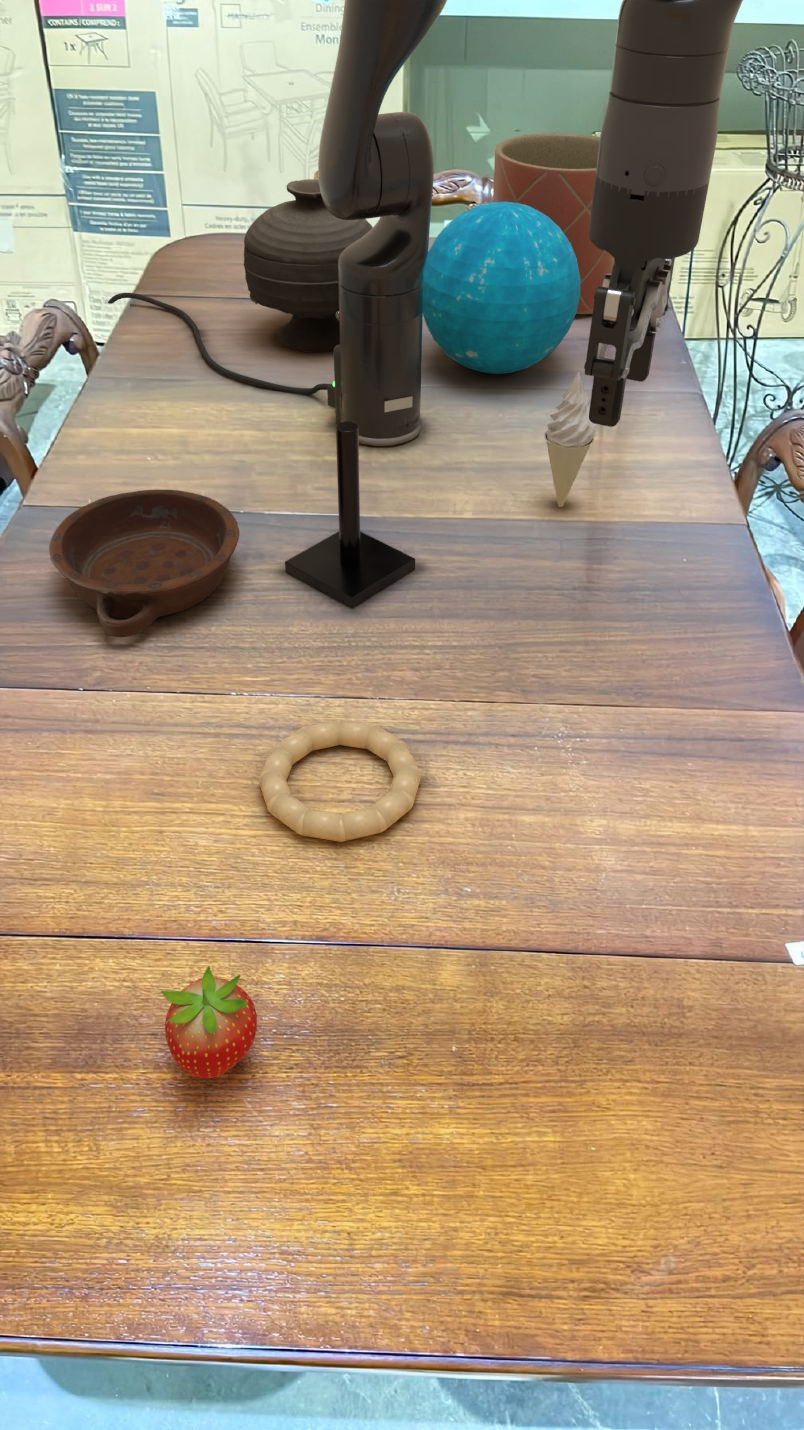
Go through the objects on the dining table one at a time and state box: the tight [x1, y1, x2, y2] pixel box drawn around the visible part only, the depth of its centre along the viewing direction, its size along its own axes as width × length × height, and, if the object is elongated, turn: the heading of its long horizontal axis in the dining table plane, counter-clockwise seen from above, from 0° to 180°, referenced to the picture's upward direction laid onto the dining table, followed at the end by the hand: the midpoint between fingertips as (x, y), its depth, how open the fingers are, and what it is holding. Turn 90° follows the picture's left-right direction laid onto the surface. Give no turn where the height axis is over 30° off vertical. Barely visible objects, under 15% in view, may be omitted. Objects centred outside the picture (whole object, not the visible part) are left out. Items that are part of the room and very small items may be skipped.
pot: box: [243, 178, 374, 353], centre depth 142 cm, size 18×18×20 cm
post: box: [284, 422, 416, 609], centre depth 100 cm, size 9×9×15 cm
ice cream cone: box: [543, 371, 597, 508], centre depth 110 cm, size 5×5×15 cm
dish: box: [48, 488, 240, 638], centre depth 102 cm, size 18×22×5 cm
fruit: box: [160, 965, 258, 1079], centre depth 63 cm, size 5×5×8 cm
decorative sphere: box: [423, 201, 580, 375], centre depth 135 cm, size 20×20×20 cm
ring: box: [258, 719, 422, 843], centre depth 82 cm, size 12×12×2 cm
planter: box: [492, 132, 615, 315], centre depth 153 cm, size 19×19×20 cm
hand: (618, 400), depth 83 cm, fingers open, 8 cm apart
